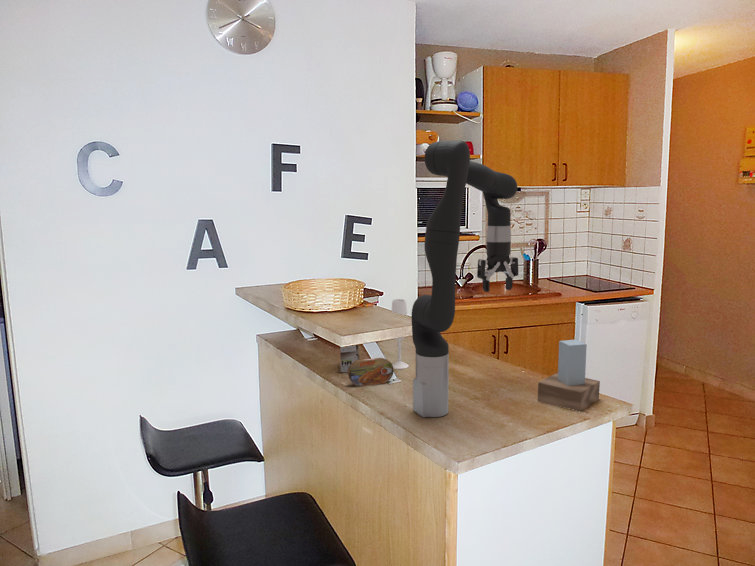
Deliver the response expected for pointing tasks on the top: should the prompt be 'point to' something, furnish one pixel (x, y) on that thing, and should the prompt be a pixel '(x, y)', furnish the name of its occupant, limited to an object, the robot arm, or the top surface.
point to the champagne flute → (400, 308)
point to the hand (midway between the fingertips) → (497, 290)
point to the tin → (370, 371)
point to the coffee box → (348, 356)
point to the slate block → (572, 362)
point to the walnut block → (568, 393)
